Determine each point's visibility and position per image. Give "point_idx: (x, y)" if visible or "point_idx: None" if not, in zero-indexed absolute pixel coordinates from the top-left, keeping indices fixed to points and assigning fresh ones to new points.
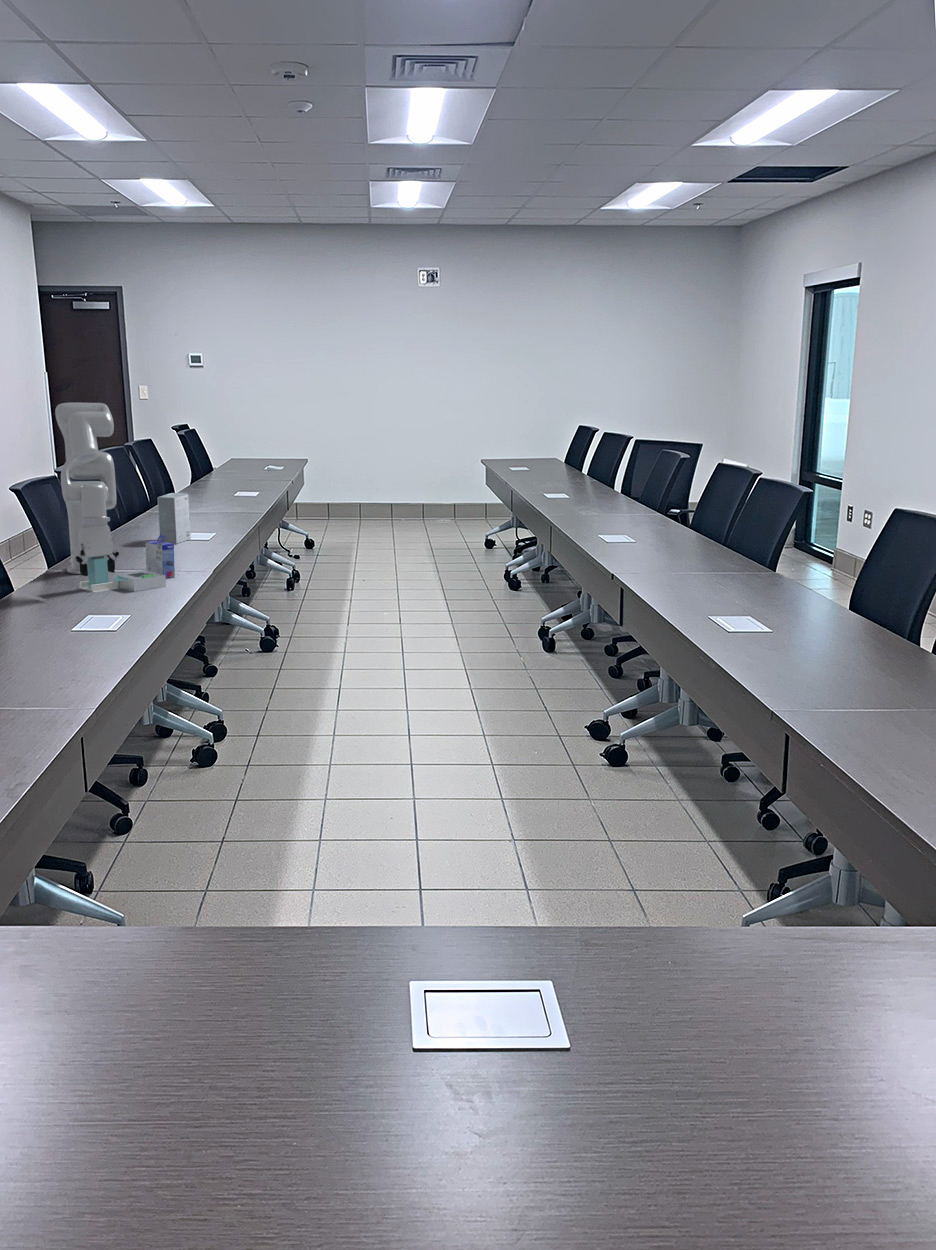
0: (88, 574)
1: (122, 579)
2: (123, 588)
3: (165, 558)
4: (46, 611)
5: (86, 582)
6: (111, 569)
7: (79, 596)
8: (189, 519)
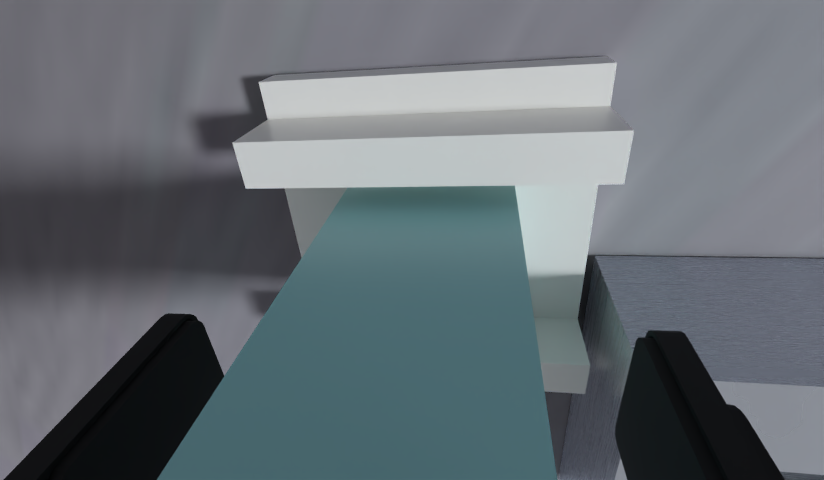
0: (301, 273)
1: (598, 478)
2: (579, 403)
3: None
4: (15, 456)
5: (317, 184)
6: (629, 456)
7: (221, 302)
8: None
